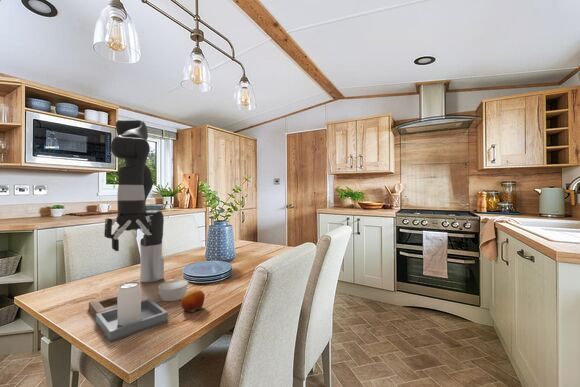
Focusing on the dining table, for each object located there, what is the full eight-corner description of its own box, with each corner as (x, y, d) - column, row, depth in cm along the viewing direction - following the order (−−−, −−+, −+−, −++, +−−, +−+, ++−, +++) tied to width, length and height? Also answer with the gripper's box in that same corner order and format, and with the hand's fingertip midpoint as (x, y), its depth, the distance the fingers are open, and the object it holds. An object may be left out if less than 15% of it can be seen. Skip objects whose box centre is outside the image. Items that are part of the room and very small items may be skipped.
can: (132, 327, 80) (132, 288, 80) (112, 326, 80) (112, 288, 80) (145, 317, 86) (145, 281, 86) (126, 316, 87) (126, 280, 86)
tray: (148, 306, 95) (148, 298, 95) (167, 321, 85) (167, 312, 85) (96, 323, 83) (96, 313, 83) (110, 342, 73) (110, 331, 73)
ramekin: (182, 289, 112) (182, 277, 112) (192, 297, 104) (192, 284, 104) (154, 296, 104) (154, 283, 104) (163, 305, 96) (163, 291, 96)
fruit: (194, 313, 87) (186, 290, 89) (181, 320, 91) (174, 298, 93) (213, 304, 94) (205, 283, 96) (200, 311, 97) (193, 290, 100)
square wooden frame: (127, 298, 103) (127, 291, 103) (138, 307, 94) (138, 300, 94) (88, 308, 93) (88, 301, 93) (97, 320, 85) (97, 312, 85)
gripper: (150, 198, 92) (150, 243, 92) (101, 199, 81) (102, 250, 81) (158, 198, 87) (159, 246, 87) (108, 199, 76) (109, 254, 76)
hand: (131, 248), depth 84 cm, fingers open, 8 cm apart
